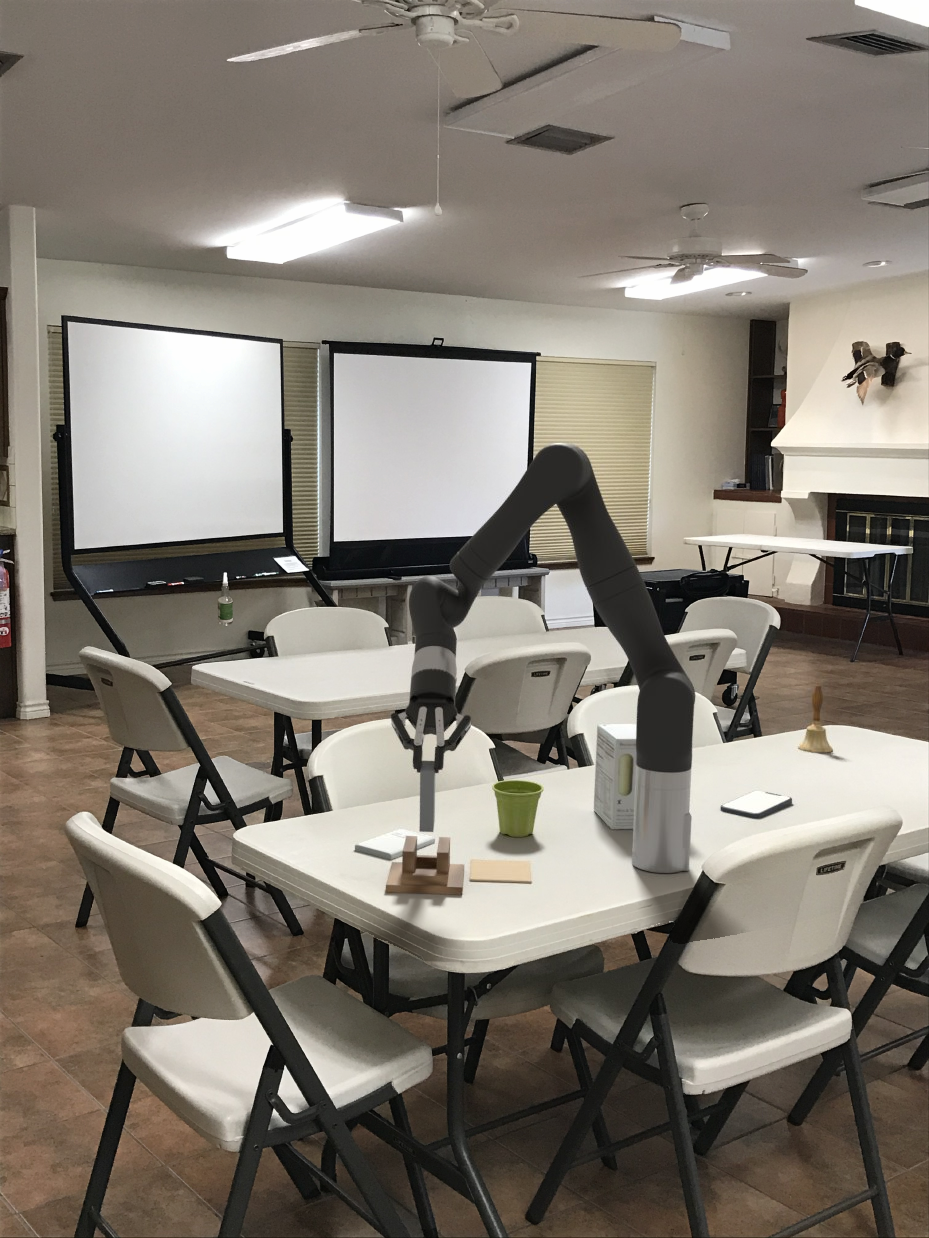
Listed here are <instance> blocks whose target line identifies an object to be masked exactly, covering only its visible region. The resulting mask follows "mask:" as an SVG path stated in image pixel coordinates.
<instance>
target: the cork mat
mask: <svg viewBox="0 0 929 1238" xmlns="http://www.w3.org/2000/svg"><path fill="white" fill-rule="evenodd" d="M469 870H470V871H469V881H470V882H490V883H491V882H493V883H494V882H497V883H521V884H522V883H526V884H532V883H533V882H532V881H533V880H532V879H533V878H532V871H531V861H530V860H513V859H512V860H509V859H508V860H507V859H503V860H502V859H481V858H480V859H479V858H478V859H477V858H476V859H475V858H471V859H470V867H469Z"/></svg>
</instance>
